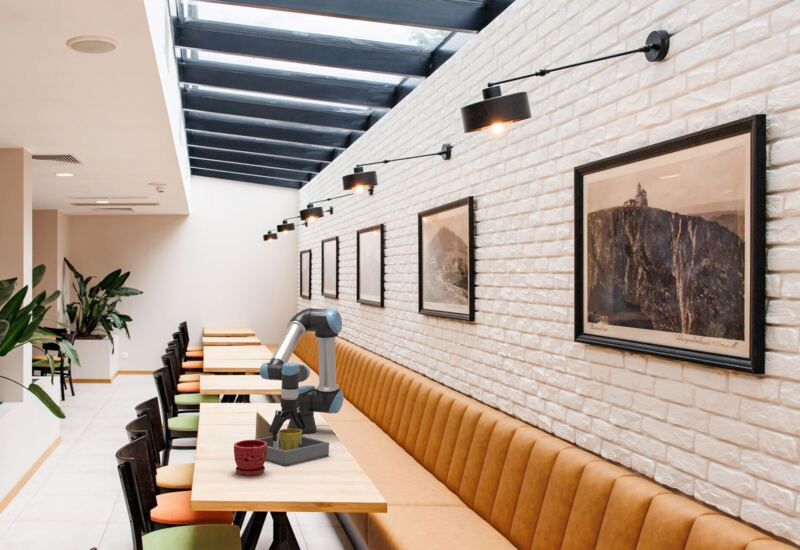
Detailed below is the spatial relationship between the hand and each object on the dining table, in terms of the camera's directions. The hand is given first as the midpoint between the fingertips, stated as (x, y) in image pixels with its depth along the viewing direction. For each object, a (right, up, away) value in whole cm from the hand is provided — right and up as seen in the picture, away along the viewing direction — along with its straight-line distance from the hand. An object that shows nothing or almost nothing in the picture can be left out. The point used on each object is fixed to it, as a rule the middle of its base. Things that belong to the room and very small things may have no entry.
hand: (287, 446), depth 318 cm
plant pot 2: (+1, -3, +1) cm, 4 cm away
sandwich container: (-10, -4, +20) cm, 23 cm away
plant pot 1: (-10, -4, -30) cm, 32 cm away
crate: (0, -4, 0) cm, 4 cm away
